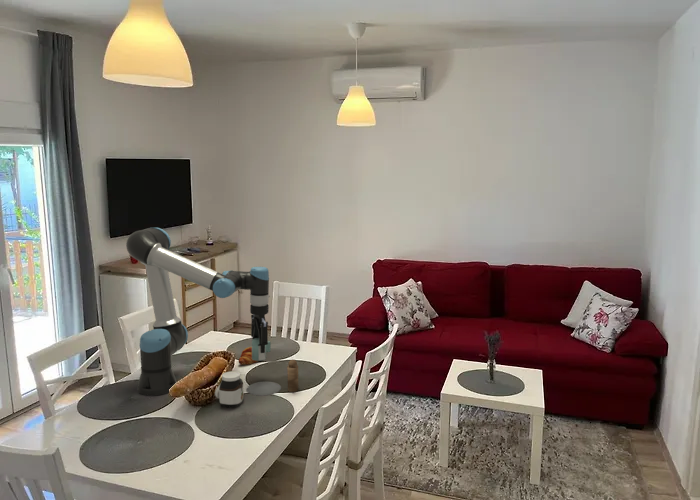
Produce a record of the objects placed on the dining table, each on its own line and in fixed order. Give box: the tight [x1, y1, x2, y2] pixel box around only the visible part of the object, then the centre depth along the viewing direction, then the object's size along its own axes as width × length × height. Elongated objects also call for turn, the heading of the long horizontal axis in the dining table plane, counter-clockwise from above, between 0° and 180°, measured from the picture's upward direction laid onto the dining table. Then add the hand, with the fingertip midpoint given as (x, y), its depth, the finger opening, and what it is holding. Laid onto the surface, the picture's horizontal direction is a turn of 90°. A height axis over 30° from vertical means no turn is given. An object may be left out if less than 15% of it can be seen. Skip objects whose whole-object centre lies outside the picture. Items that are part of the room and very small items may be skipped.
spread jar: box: [214, 371, 244, 408], centre depth 208 cm, size 12×11×12 cm
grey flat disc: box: [245, 381, 282, 397], centre depth 222 cm, size 14×14×1 cm
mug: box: [251, 338, 272, 362], centre depth 229 cm, size 8×6×8 cm
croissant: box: [238, 346, 259, 366], centre depth 256 cm, size 21×10×8 cm, turn 157°
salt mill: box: [286, 359, 300, 393], centre depth 220 cm, size 4×4×13 cm
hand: (259, 357), depth 230 cm, fingers closed on mug, 6 cm apart
